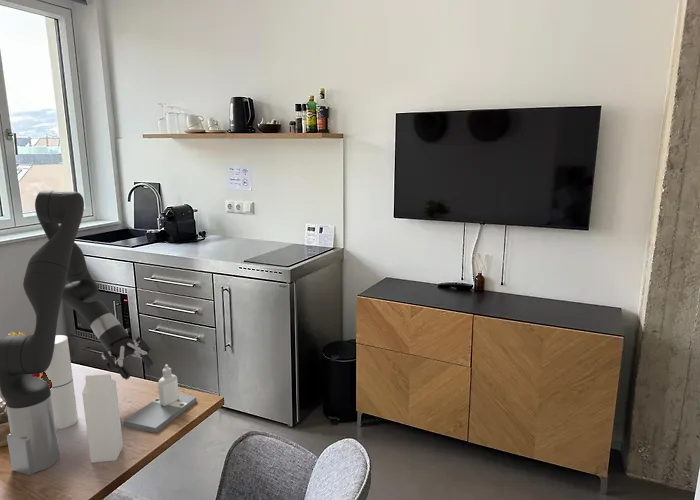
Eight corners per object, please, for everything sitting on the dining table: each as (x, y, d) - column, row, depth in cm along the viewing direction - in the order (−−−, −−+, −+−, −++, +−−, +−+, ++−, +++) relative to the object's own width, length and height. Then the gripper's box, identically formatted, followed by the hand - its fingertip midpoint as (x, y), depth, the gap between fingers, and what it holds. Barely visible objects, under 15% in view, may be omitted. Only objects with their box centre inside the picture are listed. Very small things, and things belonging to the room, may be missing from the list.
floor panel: (156, 432, 135) (155, 427, 135) (124, 425, 139) (123, 420, 138) (196, 401, 152) (196, 396, 151) (167, 395, 155) (166, 390, 155)
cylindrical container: (55, 432, 136) (43, 347, 131) (44, 423, 140) (33, 340, 135) (82, 420, 141) (72, 339, 136) (71, 412, 146) (60, 333, 140)
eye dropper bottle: (180, 403, 148) (177, 365, 145) (160, 407, 145) (157, 369, 143) (178, 396, 152) (175, 360, 149) (158, 400, 149) (155, 364, 147)
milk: (99, 449, 128) (89, 370, 124) (123, 446, 129) (114, 368, 125) (90, 463, 122) (80, 381, 118) (116, 461, 123) (107, 379, 119)
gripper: (94, 332, 145) (126, 375, 143) (133, 317, 158) (163, 356, 156) (84, 346, 149) (115, 388, 146) (123, 330, 161) (152, 369, 159)
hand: (140, 372), depth 151 cm, fingers open, 8 cm apart
